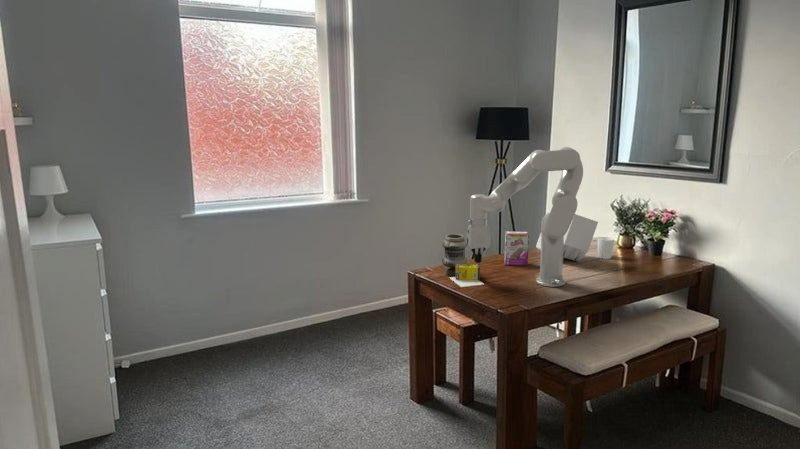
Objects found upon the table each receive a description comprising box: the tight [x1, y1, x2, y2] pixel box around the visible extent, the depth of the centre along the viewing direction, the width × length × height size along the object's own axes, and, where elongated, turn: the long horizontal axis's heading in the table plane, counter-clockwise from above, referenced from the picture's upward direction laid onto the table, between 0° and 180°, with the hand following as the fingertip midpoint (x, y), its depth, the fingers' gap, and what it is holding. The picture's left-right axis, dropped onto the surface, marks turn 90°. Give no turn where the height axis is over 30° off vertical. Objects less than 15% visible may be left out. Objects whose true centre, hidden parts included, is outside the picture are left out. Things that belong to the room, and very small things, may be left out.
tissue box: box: [535, 213, 599, 263], centre depth 273 cm, size 20×16×25 cm
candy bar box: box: [504, 231, 530, 267], centre depth 267 cm, size 11×5×16 cm, turn 84°
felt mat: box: [449, 276, 485, 288], centre depth 243 cm, size 14×11×1 cm
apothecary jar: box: [441, 233, 468, 276], centre depth 255 cm, size 12×12×18 cm
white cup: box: [596, 236, 615, 260], centre depth 278 cm, size 8×8×10 cm
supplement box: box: [455, 263, 481, 281], centre depth 246 cm, size 6×6×11 cm
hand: (477, 262), depth 243 cm, fingers closed
